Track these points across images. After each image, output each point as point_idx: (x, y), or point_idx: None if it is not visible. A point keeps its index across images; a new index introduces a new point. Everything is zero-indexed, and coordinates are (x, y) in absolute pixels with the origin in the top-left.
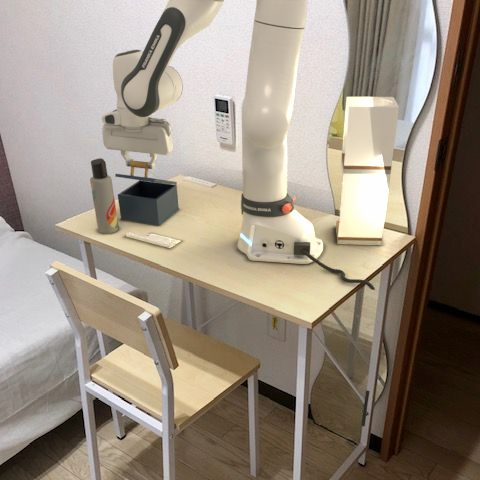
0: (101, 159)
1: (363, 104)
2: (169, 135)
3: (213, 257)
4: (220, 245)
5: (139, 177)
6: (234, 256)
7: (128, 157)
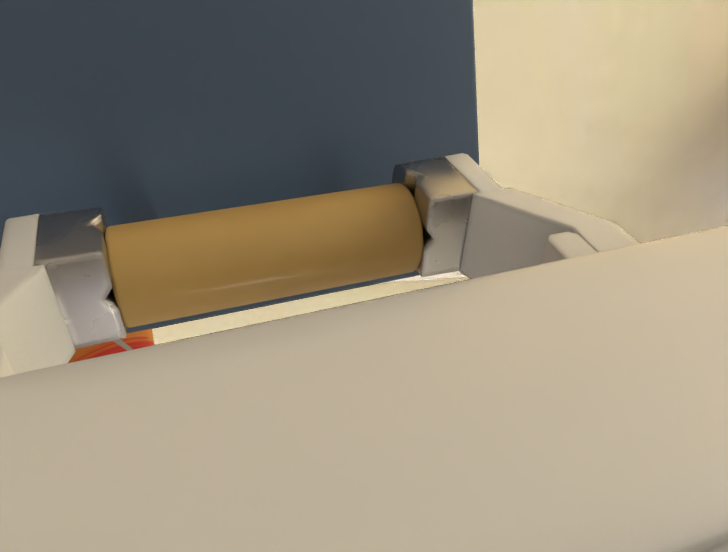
0: None
1: None
2: None
3: (647, 241)
4: (671, 149)
5: (312, 293)
6: (715, 201)
7: (32, 321)
